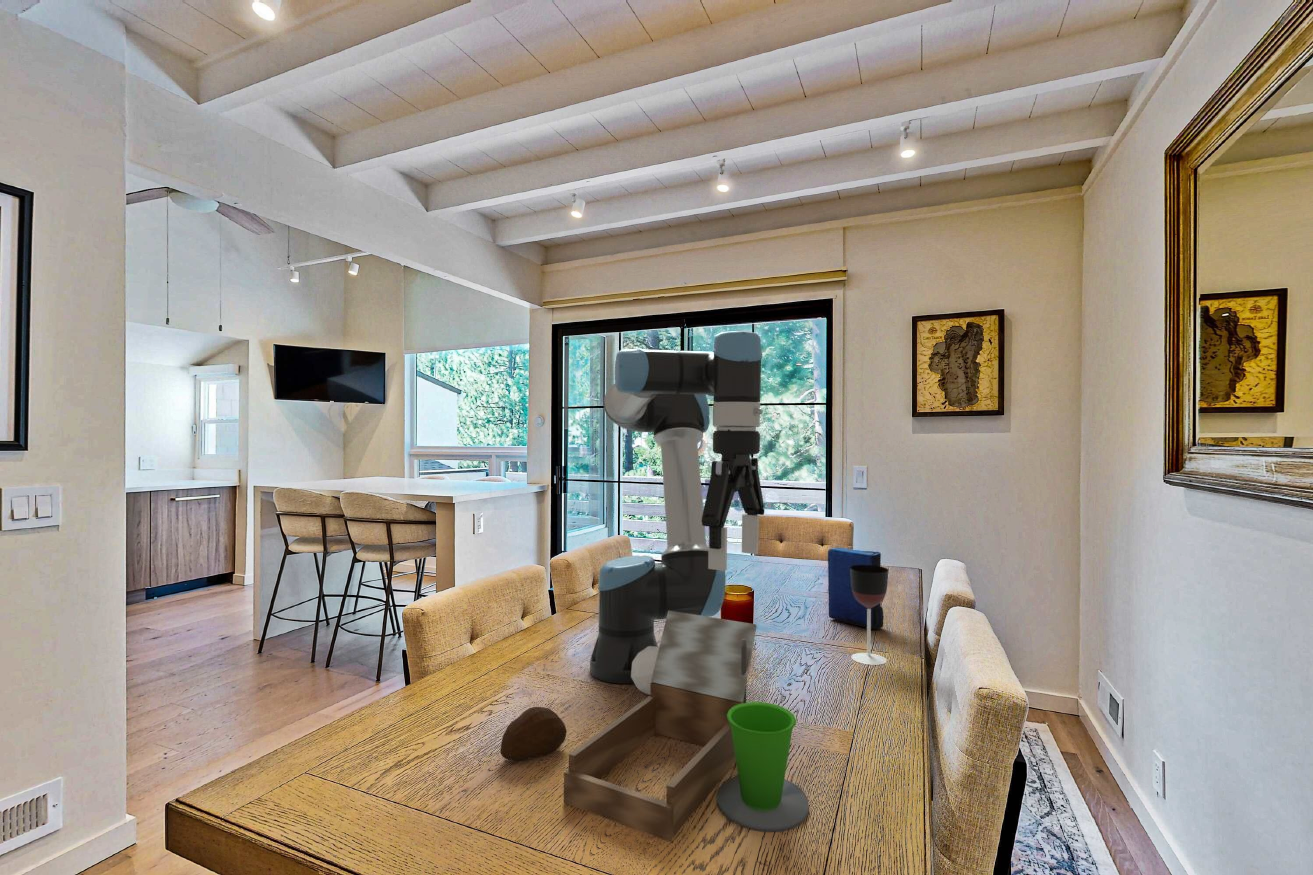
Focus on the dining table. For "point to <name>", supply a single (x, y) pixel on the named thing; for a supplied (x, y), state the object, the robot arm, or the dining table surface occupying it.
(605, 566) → the robot arm
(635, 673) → the beige half-round piece
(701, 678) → the cold frame
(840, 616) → the book
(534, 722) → the potato
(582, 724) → the dining table surface
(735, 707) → the cup
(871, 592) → the wineglass
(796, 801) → the gray round coaster
